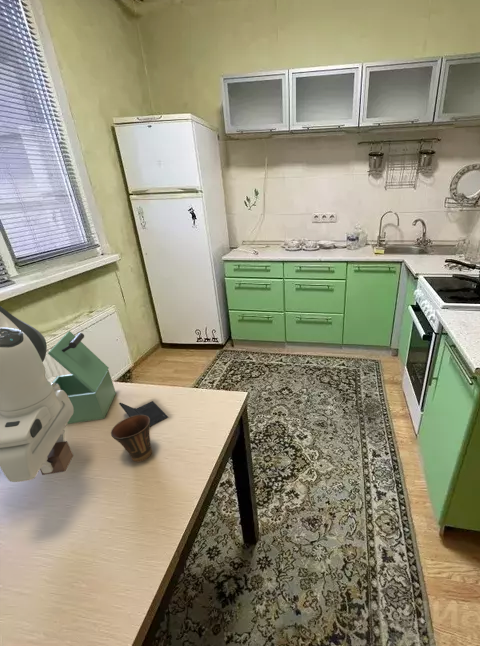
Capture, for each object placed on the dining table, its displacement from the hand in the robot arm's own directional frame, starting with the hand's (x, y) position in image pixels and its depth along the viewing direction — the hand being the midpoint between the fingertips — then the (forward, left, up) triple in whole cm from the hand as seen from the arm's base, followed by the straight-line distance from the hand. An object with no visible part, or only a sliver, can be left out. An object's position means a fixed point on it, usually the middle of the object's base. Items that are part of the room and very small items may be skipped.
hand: (55, 459), depth 69 cm
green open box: (-7, +30, -10) cm, 32 cm away
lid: (-3, +30, +7) cm, 31 cm away
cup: (+13, +8, -10) cm, 19 cm away
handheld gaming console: (+12, +22, -10) cm, 27 cm away
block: (0, 0, -2) cm, 2 cm away
